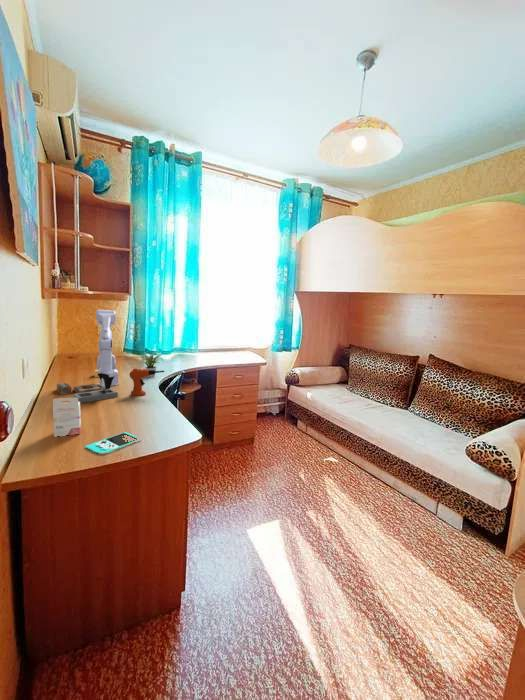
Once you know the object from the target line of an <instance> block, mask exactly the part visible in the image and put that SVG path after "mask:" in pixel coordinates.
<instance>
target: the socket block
mask: <svg viewBox="0 0 525 700" xmlns="http://www.w3.org/2000/svg"><path fill="white" fill-rule="evenodd" d="M97 390H102V387H101V386H99V385H98V384H95V383H91V384H90V383H89V384H82V385H75V386H73V392H75V394H77V393H84V392H91V391H97Z"/></svg>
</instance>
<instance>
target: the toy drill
mask: <svg viewBox="0 0 525 700" xmlns="http://www.w3.org/2000/svg"><path fill="white" fill-rule="evenodd" d="M164 372H165V370H156V371H155V370H147V369H145V368H143V369H141V368H139V369H138V368H133V369H132V370H131V371H130V372H129V374H128V375H129V378H130V379H132V381H133V389H132V390H131V391H130V395H131V396H132V395H133V396H134V397H136V396H137V397H144V396H145V395H146V394H147V393H146V391H145V390H143V386H144V385H145V384H146V383H145V382H144V380H143V379H144V378H148V377H147V376H149V375H154V374H155V375H156V374H157V373H158V374H159V373H164ZM143 395H144V396H143ZM133 396H132V397H133Z"/></svg>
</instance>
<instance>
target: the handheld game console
mask: <svg viewBox="0 0 525 700" xmlns="http://www.w3.org/2000/svg"><path fill="white" fill-rule="evenodd" d="M124 435H127V436H130V437H132V438H134V439H136V440H137V438H135V437H137V436H135V435H134V434H131V433H130V432H128V431H125V432H121V433H118V434H114V435H113V436H110V437H108V438H104V439H102V440H97V441H95V442H93V443H90V444H87V445H85V447H86V448H88V449H90V450H92V451H94V452H97V453H107V452H110V451H112V450H115V449H117V448H120V447H122V446H125V445H127V444H130V443H132V442H134V441H135V440H133V441H130V442H128V440H127V442H125V440H123V439H122V438H125V437H124ZM131 435H132V436H131ZM122 436H123V437H122ZM134 436H135V437H134ZM126 439H127V438H126ZM86 448H85V449H86ZM88 449H87V450H88ZM90 450H89V451H90ZM92 451H91V452H92ZM94 452H93V453H94Z"/></svg>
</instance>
